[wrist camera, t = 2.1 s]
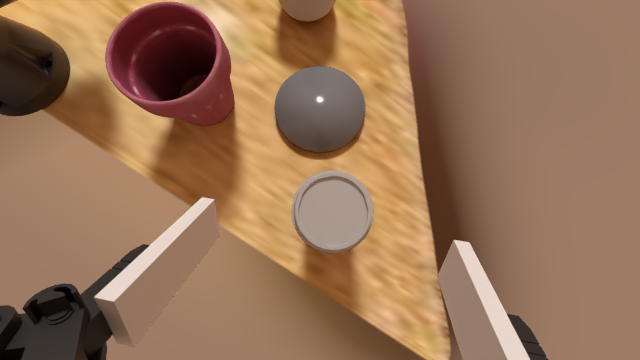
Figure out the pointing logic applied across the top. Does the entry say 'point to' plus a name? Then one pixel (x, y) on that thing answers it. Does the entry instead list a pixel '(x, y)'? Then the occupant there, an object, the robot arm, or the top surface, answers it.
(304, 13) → the teacup
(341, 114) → the gray dome
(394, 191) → the top surface
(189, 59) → the plant pot
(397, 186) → the top surface
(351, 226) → the disposable coffee cup
